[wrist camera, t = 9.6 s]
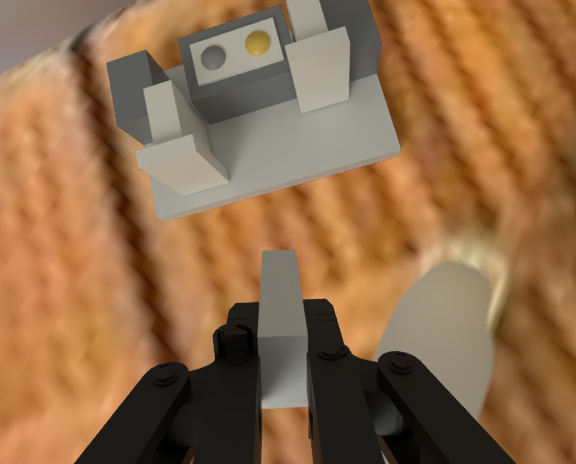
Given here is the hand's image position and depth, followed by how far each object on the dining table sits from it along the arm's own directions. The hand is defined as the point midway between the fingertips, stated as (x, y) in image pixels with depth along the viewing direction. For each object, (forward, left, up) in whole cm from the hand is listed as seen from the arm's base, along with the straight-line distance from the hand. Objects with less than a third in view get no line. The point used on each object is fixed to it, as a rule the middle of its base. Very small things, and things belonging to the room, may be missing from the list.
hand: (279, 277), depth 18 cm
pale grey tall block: (-11, +19, -19) cm, 29 cm away
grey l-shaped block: (-17, +5, -19) cm, 26 cm away
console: (-14, +12, -21) cm, 28 cm away
